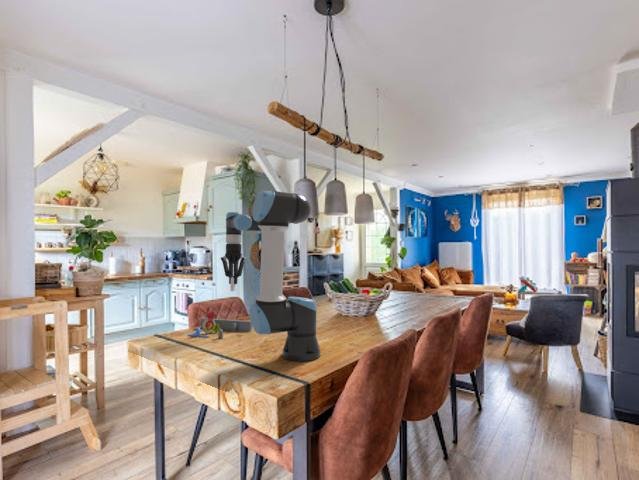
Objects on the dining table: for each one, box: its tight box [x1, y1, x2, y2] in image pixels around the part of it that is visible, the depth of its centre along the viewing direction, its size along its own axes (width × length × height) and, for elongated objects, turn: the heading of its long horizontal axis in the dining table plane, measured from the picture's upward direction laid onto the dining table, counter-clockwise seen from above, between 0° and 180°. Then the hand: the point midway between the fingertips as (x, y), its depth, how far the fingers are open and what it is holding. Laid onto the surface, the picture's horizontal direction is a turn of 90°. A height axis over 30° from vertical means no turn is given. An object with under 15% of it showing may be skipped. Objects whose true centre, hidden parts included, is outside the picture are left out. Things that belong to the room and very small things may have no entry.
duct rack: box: [187, 317, 253, 340], centre depth 175 cm, size 18×28×5 cm, turn 77°
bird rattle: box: [201, 311, 221, 335], centre depth 175 cm, size 6×11×9 cm
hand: (233, 290), depth 174 cm, fingers closed
